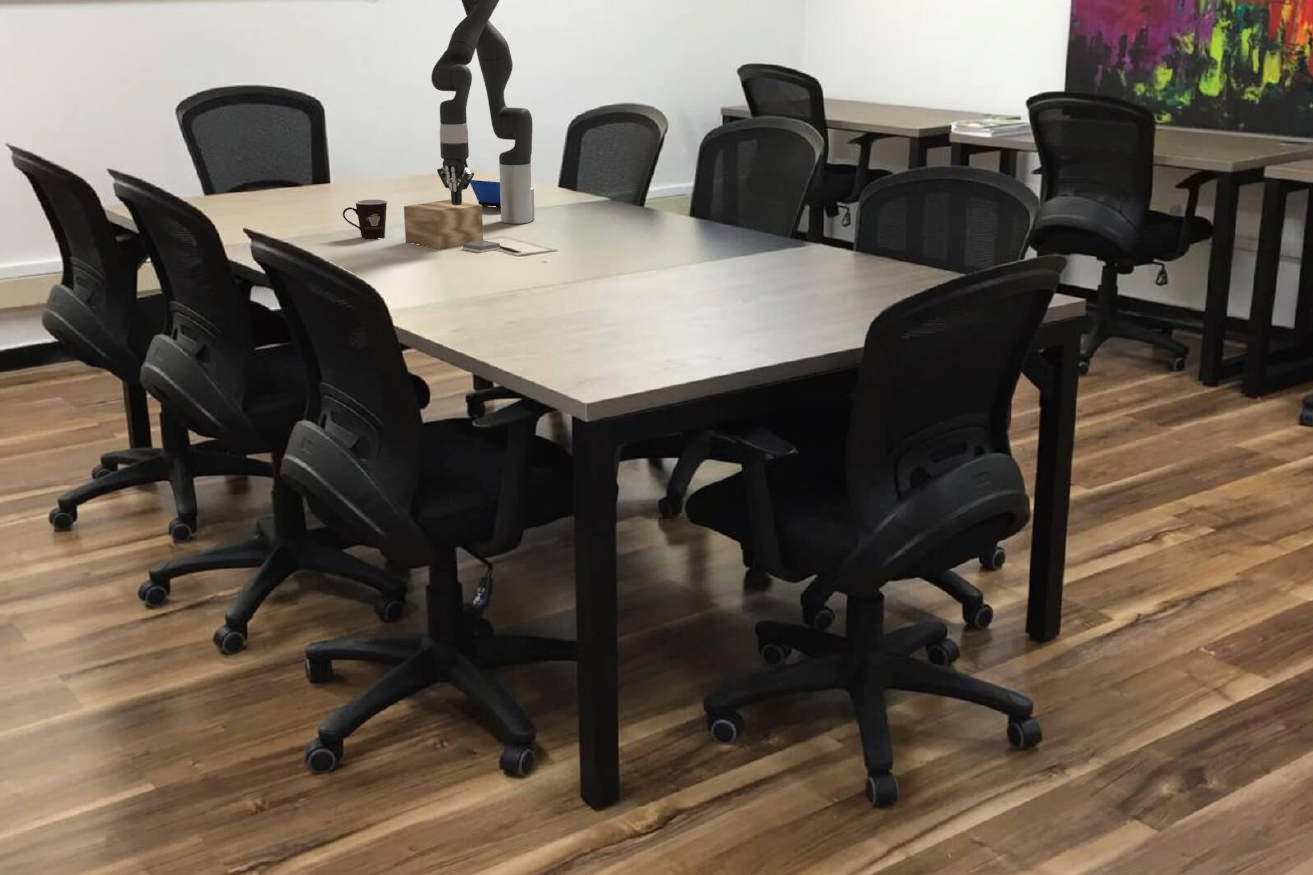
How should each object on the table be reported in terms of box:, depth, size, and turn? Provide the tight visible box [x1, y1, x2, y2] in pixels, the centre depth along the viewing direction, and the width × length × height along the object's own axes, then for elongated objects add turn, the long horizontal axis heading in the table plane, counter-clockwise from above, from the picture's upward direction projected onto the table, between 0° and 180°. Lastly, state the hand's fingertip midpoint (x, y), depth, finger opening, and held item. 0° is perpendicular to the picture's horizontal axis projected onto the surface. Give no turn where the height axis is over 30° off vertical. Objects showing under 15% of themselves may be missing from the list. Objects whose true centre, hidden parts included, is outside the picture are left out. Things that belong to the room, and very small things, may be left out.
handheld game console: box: [469, 179, 501, 207], centre depth 467 cm, size 16×13×9 cm
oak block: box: [403, 199, 484, 250], centre depth 410 cm, size 16×14×10 cm
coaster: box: [462, 239, 501, 253], centre depth 401 cm, size 7×7×2 cm
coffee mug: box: [342, 199, 388, 240], centre depth 416 cm, size 12×9×10 cm
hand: (456, 204), depth 404 cm, fingers closed
